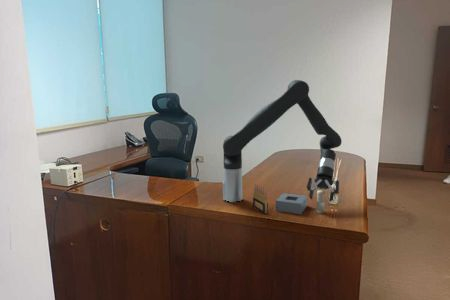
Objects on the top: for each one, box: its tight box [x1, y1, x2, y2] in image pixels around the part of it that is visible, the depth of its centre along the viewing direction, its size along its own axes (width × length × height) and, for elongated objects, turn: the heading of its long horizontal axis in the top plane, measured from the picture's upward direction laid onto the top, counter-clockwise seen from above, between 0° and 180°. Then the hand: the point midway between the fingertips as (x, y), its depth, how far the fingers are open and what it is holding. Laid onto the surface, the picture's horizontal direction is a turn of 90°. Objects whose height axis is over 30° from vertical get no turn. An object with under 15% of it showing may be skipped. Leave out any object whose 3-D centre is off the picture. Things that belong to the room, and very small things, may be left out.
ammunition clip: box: [252, 183, 269, 215], centre depth 161 cm, size 11×2×12 cm, turn 26°
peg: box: [316, 189, 326, 214], centre depth 157 cm, size 4×4×10 cm
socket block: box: [275, 192, 308, 215], centre depth 163 cm, size 12×12×5 cm
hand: (320, 199), depth 157 cm, fingers open, 8 cm apart
